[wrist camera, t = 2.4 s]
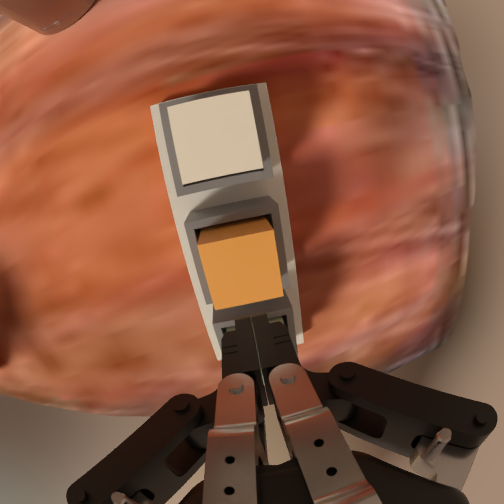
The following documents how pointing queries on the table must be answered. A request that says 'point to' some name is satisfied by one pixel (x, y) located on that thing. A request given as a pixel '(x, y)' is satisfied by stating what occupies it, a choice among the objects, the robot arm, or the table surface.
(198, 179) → the cream key
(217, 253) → the orange key
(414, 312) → the table surface
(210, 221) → the key panel
